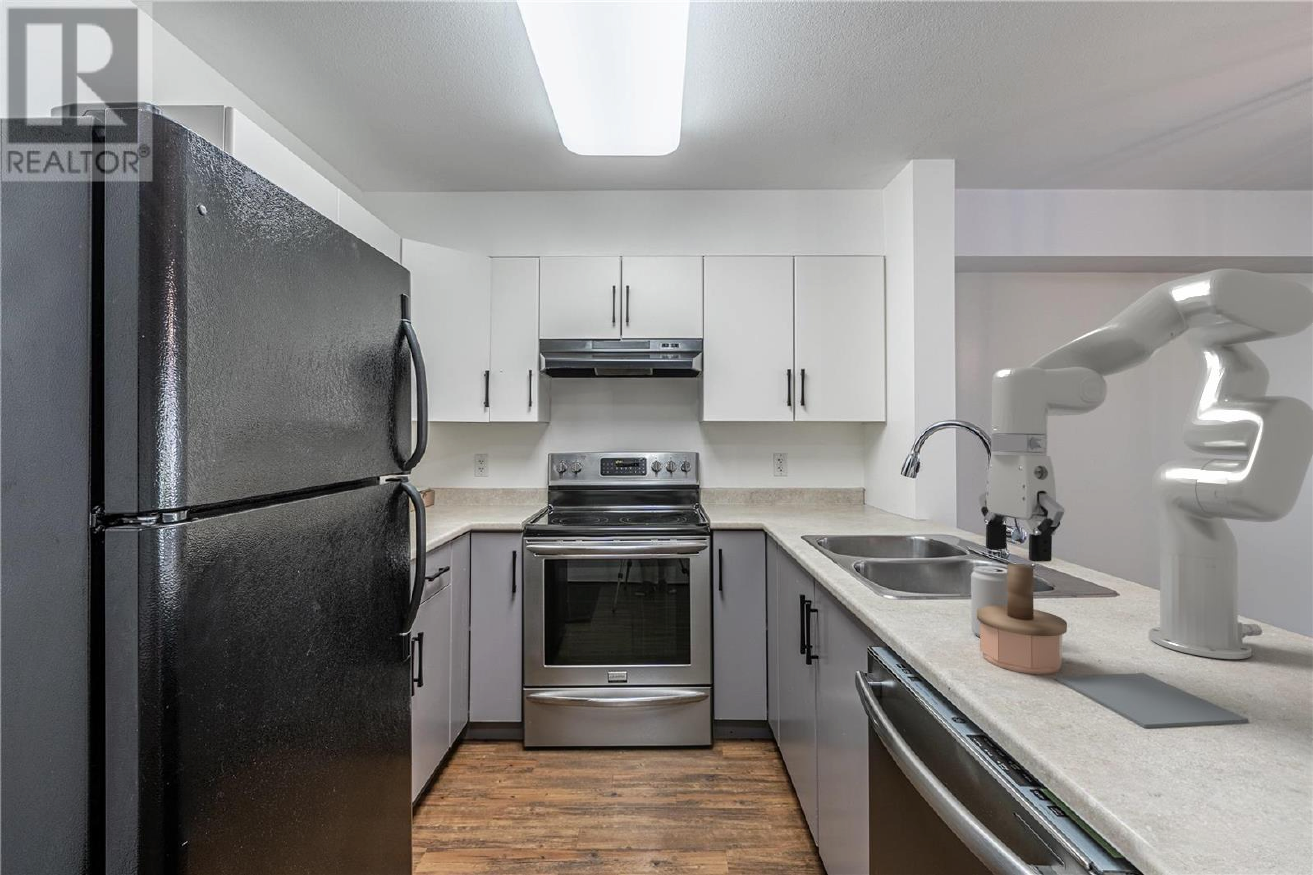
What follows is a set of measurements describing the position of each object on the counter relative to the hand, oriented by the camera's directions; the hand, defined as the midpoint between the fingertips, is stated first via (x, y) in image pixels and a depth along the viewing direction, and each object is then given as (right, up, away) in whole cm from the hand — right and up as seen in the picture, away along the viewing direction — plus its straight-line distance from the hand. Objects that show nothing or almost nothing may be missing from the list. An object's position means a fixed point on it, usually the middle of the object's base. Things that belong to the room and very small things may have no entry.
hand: (1016, 554), depth 91 cm
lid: (+1, -11, 0) cm, 11 cm away
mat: (+9, -17, -13) cm, 23 cm away
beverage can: (+3, -17, +11) cm, 21 cm away
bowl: (+1, -17, 0) cm, 17 cm away
